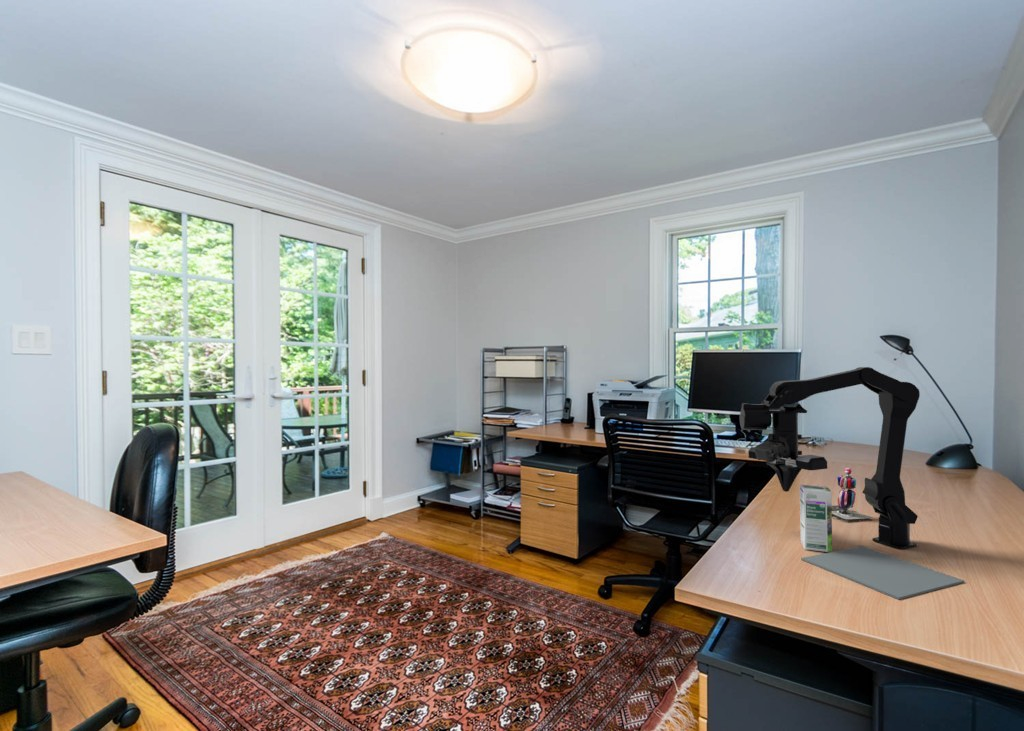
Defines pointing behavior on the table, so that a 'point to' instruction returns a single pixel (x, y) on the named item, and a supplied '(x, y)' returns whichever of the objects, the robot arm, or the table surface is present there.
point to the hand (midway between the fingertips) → (785, 491)
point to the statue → (847, 499)
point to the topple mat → (882, 572)
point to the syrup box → (816, 518)
